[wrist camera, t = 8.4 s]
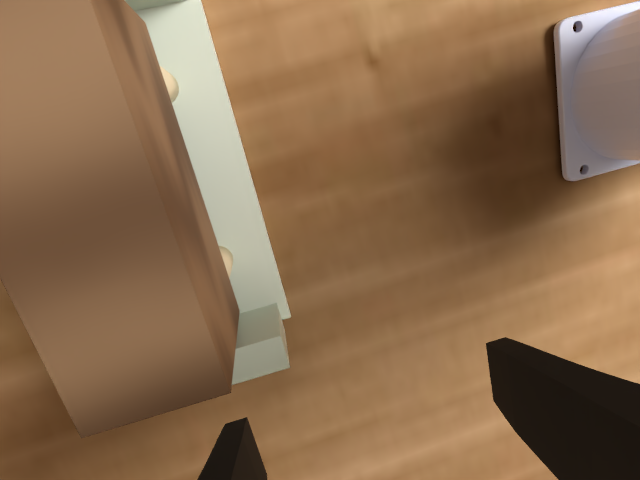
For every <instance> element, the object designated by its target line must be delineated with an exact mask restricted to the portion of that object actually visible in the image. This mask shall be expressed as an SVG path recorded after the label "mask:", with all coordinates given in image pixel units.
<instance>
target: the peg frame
mask: <svg viewBox="0 0 640 480" xmlns="http://www.w3.org/2000/svg"><path fill="white" fill-rule="evenodd" d="M124 1H125V2H126V3H127V4H128V5H129V6H130V7H131V8H132V9H133V10H134V11H135V12H136V13H137V14H138V15H139V16H140V17H141V19H142V20H143V21H144V22H145V23H146V26H147V29H148V32H149V35H150V38H151V41H152V44H153V47H154V50H155V53H156V56H157V59H158V63H159V66H160V69H161V72H162V75H163V78H164V81H165V84H166V87H167V90H168V93H169V96H170V99H171V102H172V105H173V108H174V111H175V114H176V117H177V121H178V124H179V127H180V130H181V133H182V136H183V139H184V142H185V145H186V148H187V151H188V154H189V157H190V160H191V163H192V166H193V169H194V172H195V175H196V179H197V182H198V185H199V188H200V191H201V194H202V197H203V200H204V203H205V206H206V209H207V212H208V215H209V218H210V221H211V224H212V227H213V230H214V234H215V237H216V240H217V243H218V246H219V249H220V252H221V255H222V258H223V261H224V264H225V267H226V270H227V273H228V276H229V279H230V282H231V285H232V288H233V292H234V295H235V298H236V301H237V304H238V307H239V310H240V313H239V322H238V331H237V341H236V350H235V359H234V368H233V377H232V385H234V384H237V383H241V382H244V381H247V380H251V379H254V378H257V377H261V376H264V375H267V374H271V373H274V372H277V371H281V370H284V369H287V368H290V363H289V356H288V349H287V342H286V335H285V329H284V326H283V322H282V320H284V319H287V318H291V314H290V310H289V306H288V303H287V299H286V296H285V292H284V289H283V285H282V282H281V278H280V275H279V271H278V268H277V264H276V261H275V257H274V254H273V250H272V247H271V243H270V240H269V236H268V233H267V229H266V226H265V222H264V219H263V215H262V212H261V208H260V205H259V201H258V198H257V194H256V191H255V187H254V184H253V180H252V177H251V173H250V170H249V166H248V163H247V159H246V156H245V152H244V149H243V145H242V142H241V138H240V135H239V131H238V128H237V124H236V121H235V117H234V114H233V110H232V107H231V103H230V100H229V96H228V93H227V89H226V86H225V82H224V79H223V75H222V72H221V68H220V65H219V61H218V58H217V54H216V51H215V47H214V44H213V40H212V37H211V33H210V30H209V26H208V23H207V19H206V16H205V12H204V9H203V5H202V2H201V0H124Z"/></svg>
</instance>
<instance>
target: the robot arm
mask: <svg viewBox="0 0 640 480" xmlns="http://www.w3.org/2000/svg"><path fill="white" fill-rule="evenodd" d="M573 24H575V25H576V31H575V32H574V30H573ZM554 47H555V63H556V79H557V96H558V112H559V128H560V145H561V161H562V175H563V178H564V179H565V180H567V181H578V180H581V179H585V178H588V177H592V176H596V175H599V174H603V173H607V172H610V171H614V170H617V169H621V168H625V167H628V166H632V165H635V164H639V163H640V1H637V2H632V3H628V4H624V5H620V6H615V7H611V8H607V9H603V10H598V11H594V12H590V13H586V14H582V15H577V16H573V17H569V18H566V19H563V20H561V21H559V22H558V23H557V24H556V26H555V28H554ZM581 166H582V167H583V170H582V172H581V173H580V168H581ZM486 347H487V355H488V363H489V370H490V378H491V385H492V393H493V400H494V402H495V403H496V405H497V406H498V408H499V409H500V411H501V412H502V414H503V415H504V417H505V418H506V419H507V421H508V422H509V423H510V425H511V426H512V428H513V429H514V430H515V432H516V433H517V434H518V435H519V436H520V437H521V439H522V440H523V441H524V442H525V443H526V444H527V445H528V446H529V447H530V449H531V450H532V451H533V452H534V453H535V454H536V455H537V456H538V458H539V459H540V460H541V461H542V462H543V463H544V464H545V465H546V466H547V467H548V469H549V470H550V471H551V472H552V473H553V474H554V475H555V476H556V477H557V478H558V480H640V384H638V383H634V382H631V381H628V380H624V379H621V378H618V377H615V376H612V375H609V374H605V373H602V372H599V371H596V370H594V369H591V368H588V367H585V366H582V365H579V364H576V363H574V362H571V361H568V360H565V359H563V358H560V357H557V356H555V355H552V354H550V353H547V352H544V351H542V350H539V349H536V348H534V347H531V346H528V345H526V344H523V343H520V342H518V341H515V340H512V339H509V338H506V337H505V338H501V339H498V340H495V341H492V342H488V343H486ZM198 480H267V473H266V470H265V468H264V465H263V462H262V459H261V456H260V453H259V450H258V448H257V445H256V442H255V439H254V436H253V433H252V430H251V428H250V425H249V422H248V419H247V417H246V418H243V419H240V420H236V421H233V422H230V423H227V424H225V426H224V427H223V429H222V431H221V433H220V435H219V437H218V439H217V441H216V444H215V446H214V448H213V450H212V452H211V454H210V456H209V458H208V460H207V462H206V464H205V466H204V468H203V470H202V472H201V474H200V476H199V478H198Z"/></svg>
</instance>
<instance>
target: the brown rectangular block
mask: <svg viewBox="0 0 640 480" xmlns="http://www.w3.org/2000/svg"><path fill="white" fill-rule="evenodd" d="M0 279H1V281H2V283H3V285H4V287H5V289H6V291H7V293H8V295H9V297H10V298H11V300H12V302H13V304H14V306H15V308H16V310H17V312H18V314H19V316H20V318H21V320H22V322H23V324H24V326H25V328H26V330H27V332H28V334H29V336H30V338H31V340H32V342H33V344H34V346H35V348H36V350H37V352H38V354H39V356H40V358H41V360H42V362H43V364H44V366H45V368H46V370H47V372H48V374H49V376H50V378H51V380H52V382H53V384H54V385H55V387H56V389H57V391H58V393H59V395H60V397H61V399H62V401H63V403H64V405H65V407H66V409H67V411H68V413H69V415H70V417H71V419H72V421H73V423H74V425H75V427H76V429H77V431H78V433H79V435H80V437H81V438H84V437H87V436H91V435H94V434H97V433H100V432H104V431H107V430H110V429H114V428H117V427H120V426H123V425H127V424H130V423H133V422H137V421H140V420H143V419H146V418H150V417H153V416H156V415H160V414H163V413H166V412H169V411H173V410H176V409H179V408H183V407H186V406H189V405H192V404H196V403H199V402H202V401H206V400H209V399H212V398H216V397H219V396H222V395H225V394H229V393H231V386H232V377H233V368H234V359H235V350H236V341H237V331H238V322H239V313H240V310H239V307H238V304H237V301H236V298H235V295H234V292H233V288H232V285H231V282H230V279H229V276H228V273H227V270H226V267H225V264H224V261H223V258H222V255H221V252H220V249H219V246H218V243H217V240H216V237H215V234H214V230H213V227H212V224H211V221H210V218H209V215H208V212H207V209H206V206H205V203H204V200H203V197H202V194H201V191H200V188H199V185H198V182H197V179H196V175H195V172H194V169H193V166H192V163H191V160H190V157H189V154H188V151H187V148H186V145H185V142H184V139H183V136H182V133H181V130H180V127H179V124H178V121H177V117H176V114H175V111H174V108H173V105H172V102H171V99H170V96H169V93H168V90H167V87H166V84H165V81H164V78H163V75H162V72H161V69H160V66H159V63H158V59H157V56H156V53H155V50H154V47H153V44H152V41H151V38H150V35H149V32H148V29H147V26H146V23H145V22H144V21H143V20H142V19H141V17H140V16H139V15H138V14H137V13H136V12H135V11H134V10H133V9H132V8H131V7H130V6H129V5H128V4H127V3H126V2H125V1H124V0H0Z"/></svg>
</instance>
